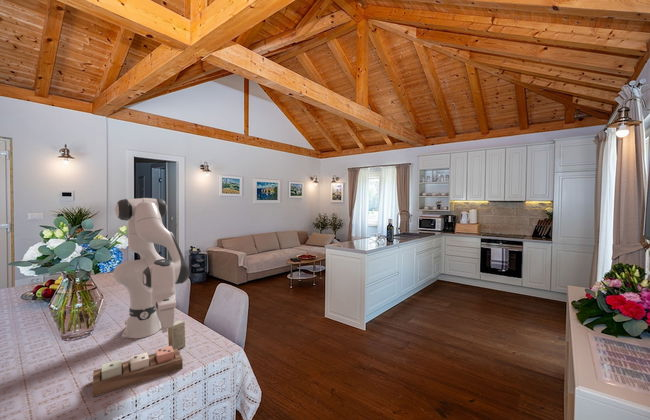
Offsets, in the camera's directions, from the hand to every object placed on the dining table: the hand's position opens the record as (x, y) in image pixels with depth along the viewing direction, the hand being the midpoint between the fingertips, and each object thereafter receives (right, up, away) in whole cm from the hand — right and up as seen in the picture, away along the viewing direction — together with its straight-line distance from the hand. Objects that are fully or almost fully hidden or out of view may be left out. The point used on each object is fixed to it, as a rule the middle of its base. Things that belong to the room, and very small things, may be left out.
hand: (164, 331), depth 121 cm
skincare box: (-3, -15, +16) cm, 22 cm away
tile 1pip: (-14, -14, -10) cm, 22 cm away
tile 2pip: (-7, -13, -5) cm, 16 cm away
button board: (-7, -15, -5) cm, 18 cm away
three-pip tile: (0, -13, 0) cm, 13 cm away
